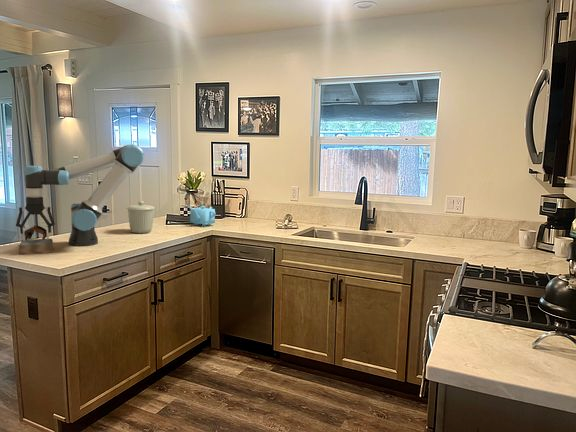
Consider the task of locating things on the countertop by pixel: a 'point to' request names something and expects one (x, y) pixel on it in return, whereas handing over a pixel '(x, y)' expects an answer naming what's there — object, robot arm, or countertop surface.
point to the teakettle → (202, 215)
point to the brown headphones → (30, 232)
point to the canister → (141, 217)
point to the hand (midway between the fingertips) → (36, 239)
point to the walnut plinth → (35, 246)
